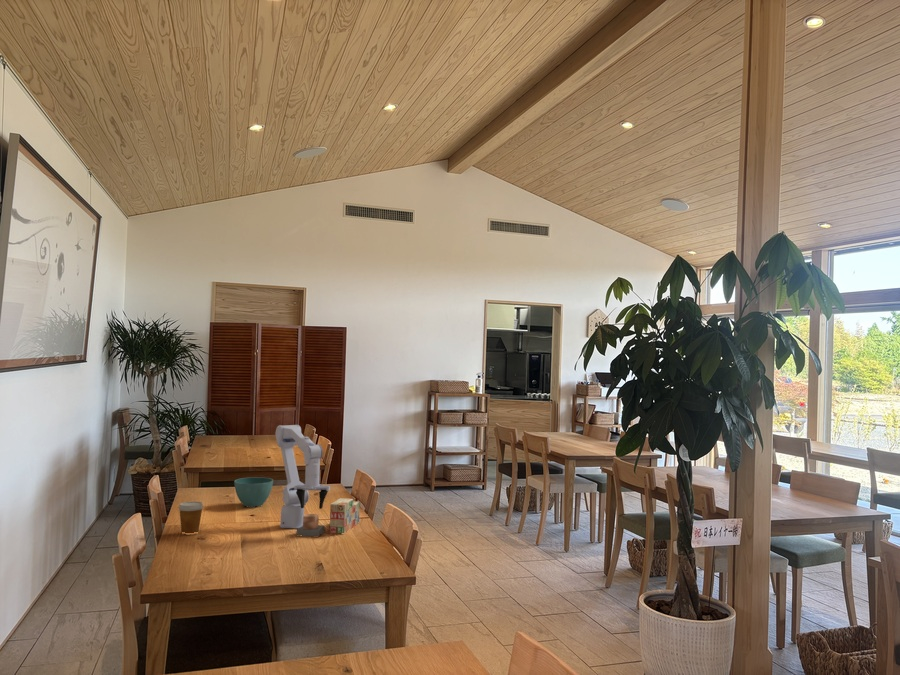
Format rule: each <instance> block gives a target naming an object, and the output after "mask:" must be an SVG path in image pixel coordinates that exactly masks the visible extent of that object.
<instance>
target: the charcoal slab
mask: <svg viewBox="0 0 900 675" xmlns="http://www.w3.org/2000/svg"><path fill="white" fill-rule="evenodd" d="M325 528H326V527H325V525H323V524H322V525H321V524H318V527H317V528H316V529H303V526H301V527H300V528H296V536H297V535H302V536H301V537H309V536H319V535H320V534H321V535H322V534H324V531H325ZM321 535H320V536H321ZM320 536H319V537H320Z"/></svg>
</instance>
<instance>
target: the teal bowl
mask: <svg viewBox="0 0 900 675" xmlns="http://www.w3.org/2000/svg"><path fill="white" fill-rule="evenodd" d="M233 483H234V489H235V493H236V495H237V498H238V500H239V501H240V503H241V504H242V506H243V507H245V506H248V507H247V508H256V507H255V506H259V507H262V506H261V505H264V504H265V502H267V499H268V498H269V497H270V494H271V492H272V488H273V485H274V479H273V478H270V477H257V476H255V477H242V478H238V479H235V480H234V481H233Z"/></svg>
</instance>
